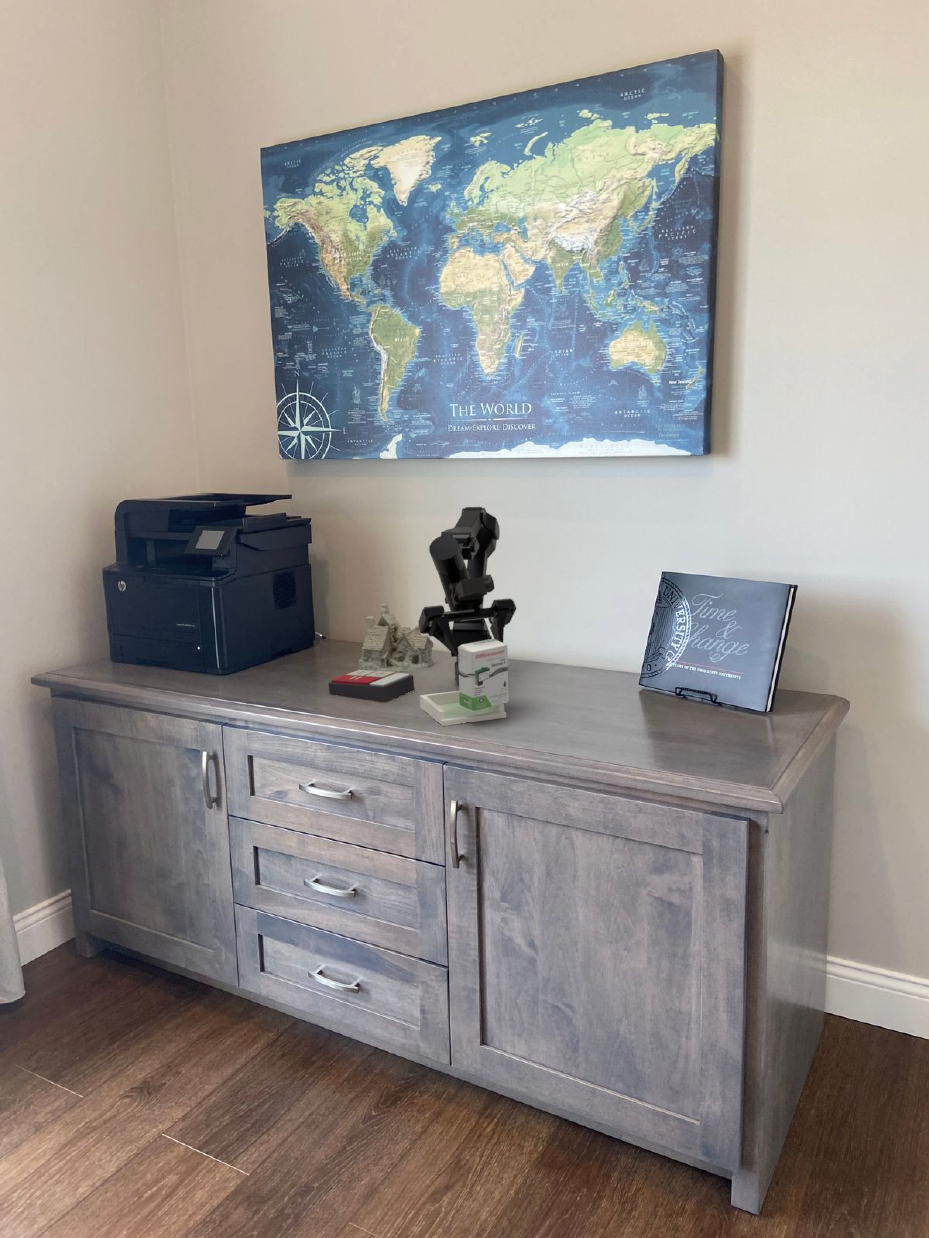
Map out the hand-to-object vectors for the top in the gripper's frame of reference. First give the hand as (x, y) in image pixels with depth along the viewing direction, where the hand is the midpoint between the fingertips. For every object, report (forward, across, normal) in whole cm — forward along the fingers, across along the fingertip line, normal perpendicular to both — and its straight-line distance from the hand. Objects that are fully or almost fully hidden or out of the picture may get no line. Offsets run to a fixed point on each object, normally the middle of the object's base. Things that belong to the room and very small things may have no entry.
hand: (479, 652), depth 177 cm
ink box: (+8, 0, +7) cm, 10 cm away
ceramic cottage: (-24, -3, +44) cm, 51 cm away
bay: (+6, -2, +13) cm, 14 cm away
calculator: (-10, -14, +30) cm, 35 cm away
